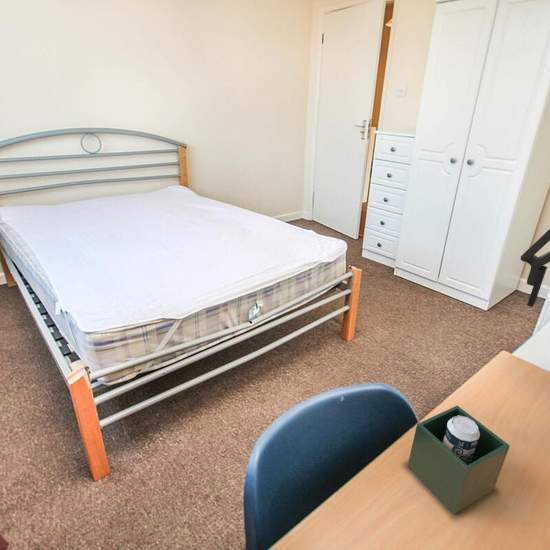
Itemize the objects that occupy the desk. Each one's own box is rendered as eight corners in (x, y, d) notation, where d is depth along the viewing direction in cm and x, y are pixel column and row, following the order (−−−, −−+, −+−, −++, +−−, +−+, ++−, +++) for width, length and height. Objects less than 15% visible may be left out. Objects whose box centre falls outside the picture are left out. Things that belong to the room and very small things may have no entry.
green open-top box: (445, 448, 72) (457, 405, 67) (492, 491, 64) (510, 445, 60) (406, 468, 68) (417, 423, 63) (452, 517, 60) (468, 469, 55)
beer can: (448, 493, 63) (465, 440, 58) (428, 470, 67) (441, 418, 62) (470, 484, 64) (488, 431, 59) (449, 461, 68) (464, 410, 64)
